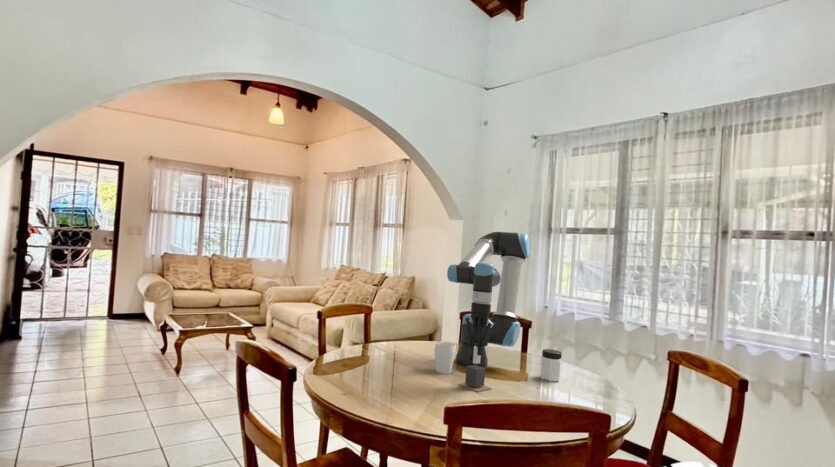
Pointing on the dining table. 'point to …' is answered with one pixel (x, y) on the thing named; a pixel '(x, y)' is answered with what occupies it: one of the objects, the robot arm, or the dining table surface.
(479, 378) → the charcoal cuboid
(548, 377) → the jar
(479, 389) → the teal post on base
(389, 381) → the dining table surface
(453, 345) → the cup
